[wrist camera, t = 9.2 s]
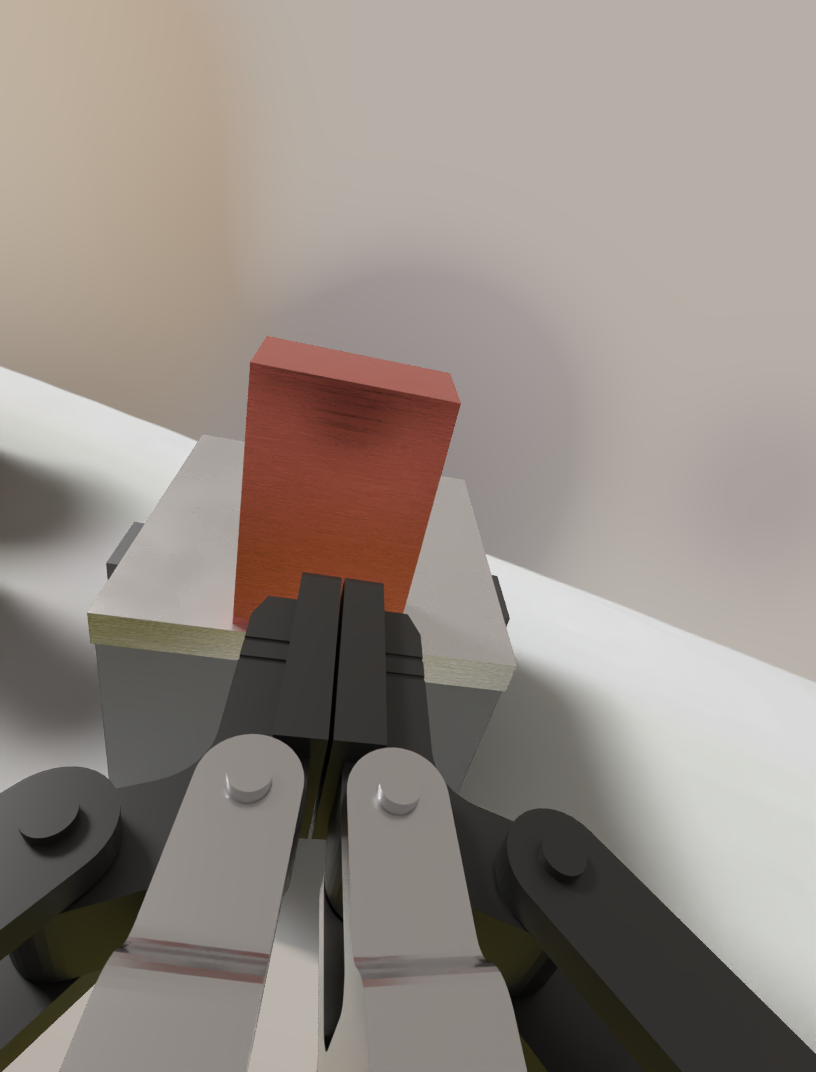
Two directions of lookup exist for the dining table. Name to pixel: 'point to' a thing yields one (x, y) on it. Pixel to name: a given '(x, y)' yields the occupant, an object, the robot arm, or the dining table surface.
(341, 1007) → the robot arm
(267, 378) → the lid
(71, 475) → the dining table surface
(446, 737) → the grey box
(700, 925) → the dining table surface
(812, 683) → the dining table surface
